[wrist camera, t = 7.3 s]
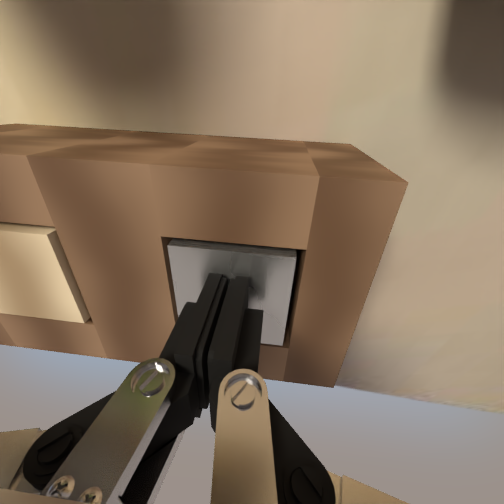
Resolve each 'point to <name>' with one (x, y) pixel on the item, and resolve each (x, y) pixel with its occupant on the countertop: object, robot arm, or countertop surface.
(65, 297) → the beech peg
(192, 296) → the metal peg
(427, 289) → the countertop surface
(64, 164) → the sleeve block
